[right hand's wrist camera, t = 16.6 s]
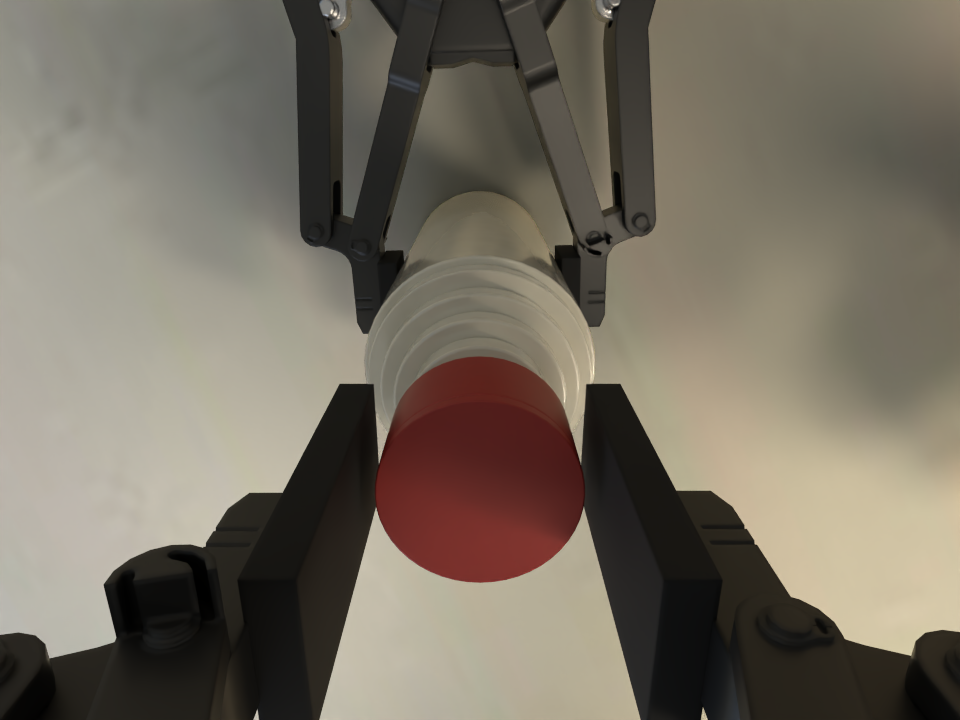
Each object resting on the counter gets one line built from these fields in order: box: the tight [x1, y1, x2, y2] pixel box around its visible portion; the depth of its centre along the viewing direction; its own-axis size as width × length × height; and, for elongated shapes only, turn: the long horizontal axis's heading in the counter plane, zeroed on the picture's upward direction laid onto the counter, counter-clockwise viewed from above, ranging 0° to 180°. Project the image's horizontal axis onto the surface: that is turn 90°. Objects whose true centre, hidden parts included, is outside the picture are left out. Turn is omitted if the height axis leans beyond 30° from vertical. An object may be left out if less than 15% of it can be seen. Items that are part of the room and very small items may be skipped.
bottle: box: [364, 191, 595, 432], centre depth 24 cm, size 7×7×23 cm
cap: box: [375, 356, 585, 583], centre depth 14 cm, size 4×4×2 cm
